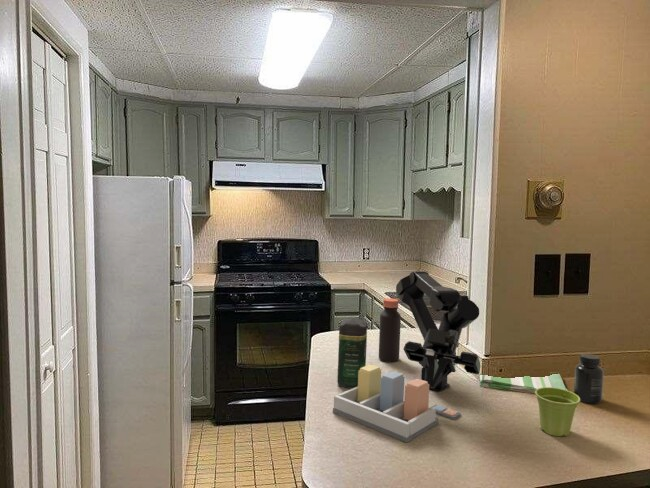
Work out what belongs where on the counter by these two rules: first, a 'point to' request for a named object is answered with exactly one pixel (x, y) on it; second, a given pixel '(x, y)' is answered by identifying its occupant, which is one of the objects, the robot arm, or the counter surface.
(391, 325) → the vinegar
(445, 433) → the counter surface
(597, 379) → the supplement bottle
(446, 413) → the tile
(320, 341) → the counter surface
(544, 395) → the plant pot
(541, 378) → the dish towel
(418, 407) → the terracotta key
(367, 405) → the grey divided tray
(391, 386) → the pale blue block
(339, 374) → the coffee jar
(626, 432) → the counter surface
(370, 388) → the yellow block
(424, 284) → the robot arm
